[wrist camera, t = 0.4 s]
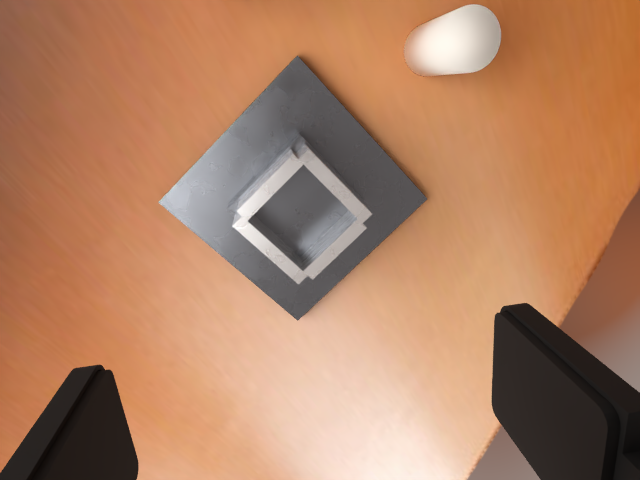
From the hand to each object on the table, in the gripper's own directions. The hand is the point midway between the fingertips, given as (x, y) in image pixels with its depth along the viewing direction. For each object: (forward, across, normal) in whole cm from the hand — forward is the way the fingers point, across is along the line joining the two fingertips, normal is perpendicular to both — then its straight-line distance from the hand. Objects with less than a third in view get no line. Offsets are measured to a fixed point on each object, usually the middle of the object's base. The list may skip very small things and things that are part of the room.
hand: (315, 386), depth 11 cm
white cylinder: (+29, -13, -9) cm, 33 cm away
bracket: (+29, -1, +2) cm, 29 cm away
